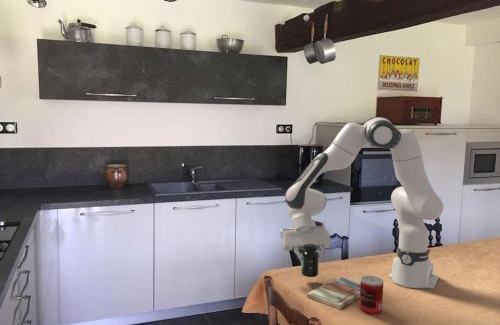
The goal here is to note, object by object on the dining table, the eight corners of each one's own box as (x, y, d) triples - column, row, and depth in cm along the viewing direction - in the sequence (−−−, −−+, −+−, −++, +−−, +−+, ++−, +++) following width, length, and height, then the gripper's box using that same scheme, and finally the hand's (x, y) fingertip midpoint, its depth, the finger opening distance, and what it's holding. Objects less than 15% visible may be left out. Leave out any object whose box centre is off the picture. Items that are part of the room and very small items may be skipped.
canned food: (377, 304, 156) (379, 275, 155) (385, 315, 148) (386, 284, 147) (356, 304, 156) (358, 275, 155) (363, 314, 148) (364, 284, 147)
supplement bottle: (299, 276, 173) (300, 247, 171) (303, 270, 179) (303, 242, 178) (317, 278, 171) (317, 248, 169) (319, 272, 177) (320, 243, 176)
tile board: (340, 279, 179) (340, 275, 179) (371, 289, 170) (371, 284, 170) (306, 297, 161) (307, 291, 161) (339, 309, 152) (340, 303, 152)
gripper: (281, 225, 177) (287, 256, 169) (327, 222, 182) (336, 252, 173) (277, 232, 182) (284, 263, 174) (323, 230, 186) (331, 259, 178)
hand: (310, 257), depth 173 cm, fingers closed on supplement bottle, 7 cm apart
